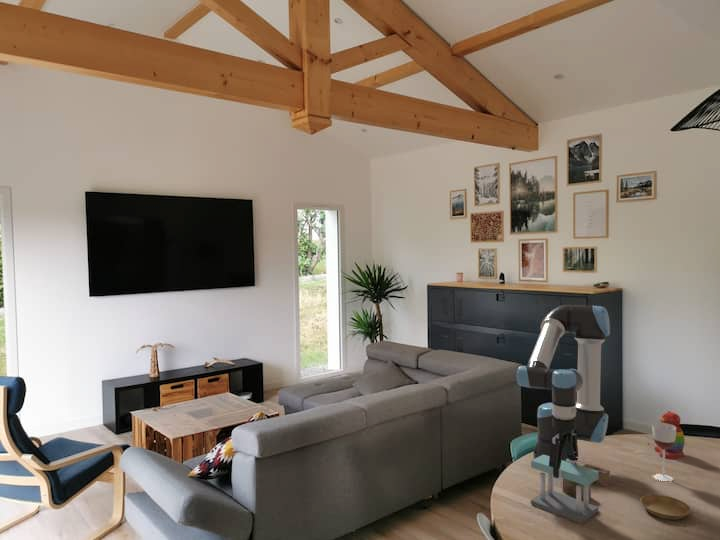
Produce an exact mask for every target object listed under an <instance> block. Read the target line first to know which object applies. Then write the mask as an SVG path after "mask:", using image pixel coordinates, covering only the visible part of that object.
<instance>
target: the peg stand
mask: <svg viewBox="0 0 720 540" xmlns="http://www.w3.org/2000/svg"><path fill="white" fill-rule="evenodd" d="M539 479H540V481H539V482H540V483H539V484H540V486H539V487H540V488H539V490H540V491H539V492H540V493H539V494H538V495H537V496H535V497H534V498H532V499H531V500H530V505H531V504H533V505H532V506H534V505H535V507H536V506H538V507H537V508H539V507H540V509H542V510H545V511H547V512H550V513H551V514H554V515H557V516H560V517H562V518H565V519H567V520H570V521H573V522H575V523H578V524H580V525H581V524H583V523H584V522H586V521H587V520H589V518H590V519H591V517H592V516H594V515H595V514H597V513H598V512H599V506H596V505H594V504H591V503H589V502H590V501H589V499H590V498H589V485H588V486H585V485H584V492H583V498H581V485H576V496H575V498H574V497H571V496H569V495H566V494H564V493H560V492H557V491H555V490H554V489H553V488H554V487H553V475H552V474H549V473H547V490H546V472H540V474H539ZM582 499H583V501H582Z"/></svg>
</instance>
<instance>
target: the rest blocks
mask: <svg viewBox="0 0 720 540" xmlns="http://www.w3.org/2000/svg"><path fill="white" fill-rule="evenodd" d="M582 466H583V467H586V468H589V469H593V470H596V471H599V479H597V480H596V481H594V482H593V483H594V484H597V485H599V486H603V487H605V488H606V487H608V486H610V485H611V484H610V483H611V482H610V481H611V480H610V479H611V476H610V475H611V473H610V470H607V469H605V468H601V467H598V466H595V465H591V464H587V463H586V464H584V465H582ZM593 483H591V484H589V499H590V498H591V496H592V495H591V491H592V490H591V485H592V484H593ZM576 485H581V499H583V492H584V485H582V484H579V483H576V482H573V481H570V480H567V479H564V478H562V492H563V491H565V492H564V493H566V492H567V493H566V494H569V493H570V494H569V495H571V494H572V496H574V495H575V497H576Z"/></svg>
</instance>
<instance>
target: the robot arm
mask: <svg viewBox="0 0 720 540" xmlns="http://www.w3.org/2000/svg"><path fill="white" fill-rule="evenodd" d="M565 334H574V335H573V336H574V337H573V338H574V339H575V340H576V341H577V369H576V368H569V369H568V368H567V369H557V368H556V369H555V368H550V367H551V363H552V361H553V359H554V354H555V352H556V349H557V347H558V345H559V341H560V339H561V338H562V337H563V336H564V335H565ZM610 334H611V323H610V316H609V313H608V310H607V308H605V306H599V305H585V304H584V305H583V304H582V305H579V304H564V305H559V306H557V307H555V308H553V309H552V310H551V311H549V312H548V313H547V314H546V315H545V316H544V318H543V319H542V320H541V323H540V333H539V335H538V338H537V340H536V343H535V345H534V348H533V349H532V353H531V355H530V358H529V359H528V363H527V365H520V366H519V367H518V368H517V371H516V382H517V384H518V385H519V386H521V387H524V388H530V389H540V390H548V391H551V398H552V402H547V403H546V402H545V403H542V404H541V405H539V406H538V408H537V415H536V419H537V440H536V443H535V446H534V449H533V455H532V456H533V457H534V458H533V459H535V458H537V457H539V456H541V455H547V456H550V458H549V466H550V467H553V486H554V487H557V488H558V489H559V488H560V489H562V488H563V478H562V468H560V466H561V461H562V460H563V461H566V462H570V463H573V464H576V462H577V461H579V460H578V459H579V458H578V457H579V448H578V447H579V446H578V440H579V441H584V442H589V443H596V444H597V443H598V444H600V443H602V442H604V440H605V437H606V433H607V429H608V423H609V415H608V414H607V413H606V412H605V408H604V407H603V406H602V405H601V370H602V369H601V368H602V365H601V363H602V344H603V343H604V342H605V341H606V337H608V336H610ZM575 461H576V462H575Z"/></svg>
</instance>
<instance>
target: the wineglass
mask: <svg viewBox="0 0 720 540" xmlns="http://www.w3.org/2000/svg"><path fill="white" fill-rule="evenodd" d="M651 426H652V428H651V431H652V439H653V441H654V443H655V444H656V446H659V447H661V448H662V449H663V457H662V473H655V474H656V475H654V474H653V475H654V476H653V475H652V478H653V477H654V478H655V480H657V479H658V480H659V481H660V480H661V481H660V482H662V481H670V482H669V483H672V482H671V481H672V480H673V478H674V477H673V476H671V475H669V476H668V474H666V458H665V449H667V448H670V447H672V446H673V444H674V442H675V439H676V427H675V426H674V425H671V424H667V423H662V422H653V423H651ZM662 474H663V475H662ZM670 476H671V477H670ZM672 477H673V478H672ZM654 478H653V479H654ZM658 480H657V481H658Z"/></svg>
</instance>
